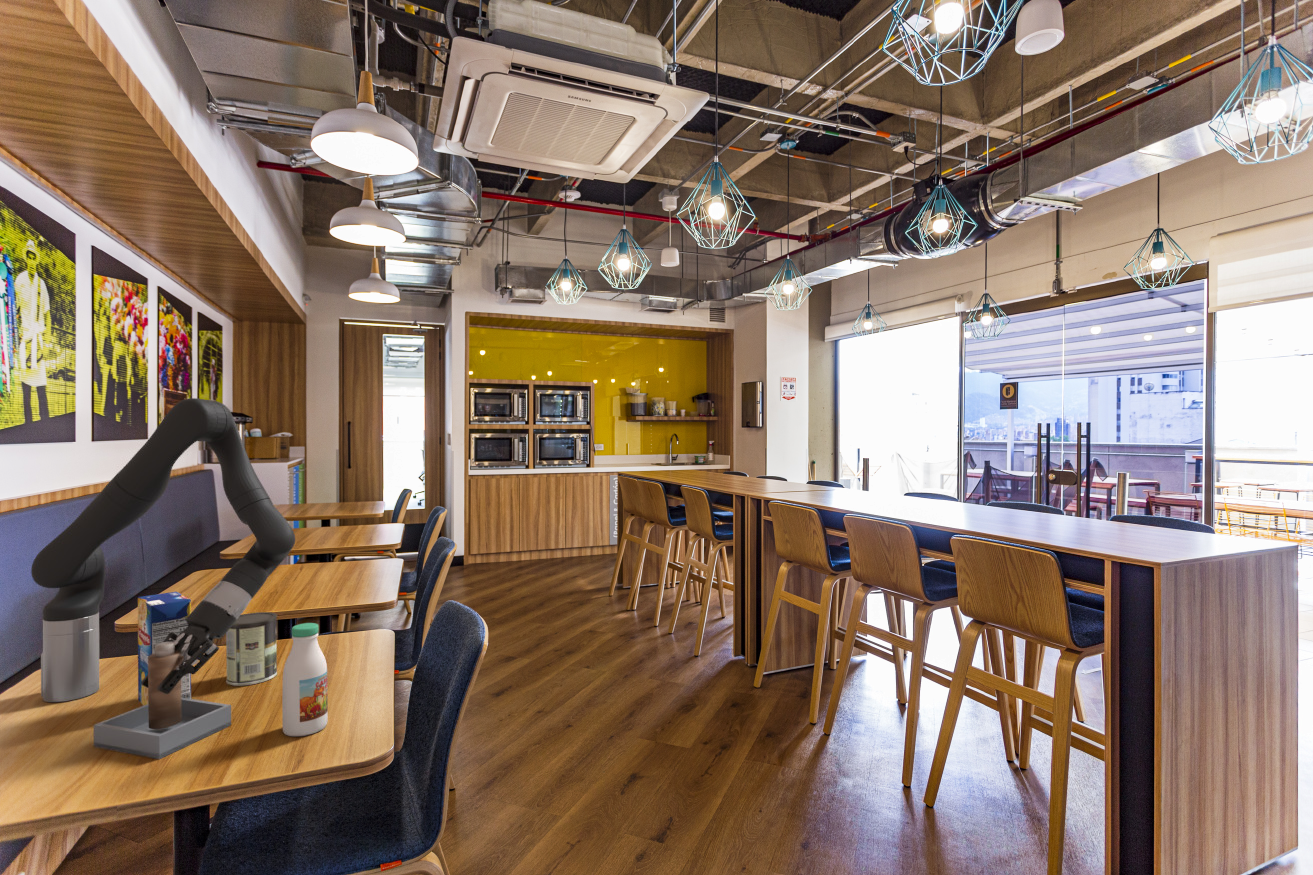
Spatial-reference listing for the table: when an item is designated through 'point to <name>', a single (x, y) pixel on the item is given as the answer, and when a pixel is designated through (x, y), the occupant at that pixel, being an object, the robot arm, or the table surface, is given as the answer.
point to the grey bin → (139, 739)
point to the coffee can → (251, 649)
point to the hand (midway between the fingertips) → (154, 688)
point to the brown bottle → (160, 705)
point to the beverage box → (160, 632)
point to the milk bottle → (304, 684)
